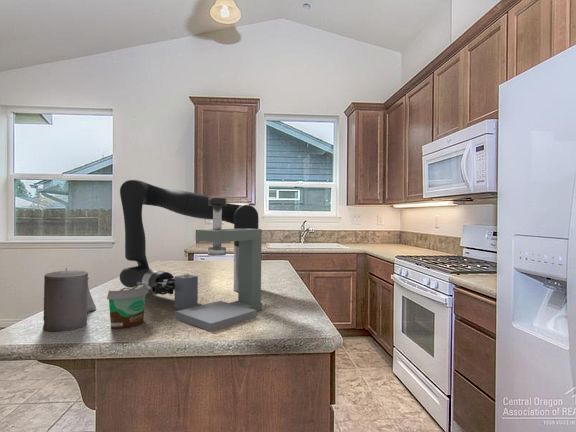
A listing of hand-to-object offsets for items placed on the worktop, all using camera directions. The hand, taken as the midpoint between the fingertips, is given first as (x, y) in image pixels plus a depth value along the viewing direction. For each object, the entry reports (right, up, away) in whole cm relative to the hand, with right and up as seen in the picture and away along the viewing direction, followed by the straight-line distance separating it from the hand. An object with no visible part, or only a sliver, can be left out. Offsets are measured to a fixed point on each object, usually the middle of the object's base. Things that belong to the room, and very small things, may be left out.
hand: (184, 288), depth 106 cm
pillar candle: (-26, -6, -18) cm, 32 cm away
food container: (-9, -6, -16) cm, 19 cm away
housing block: (0, -6, 0) cm, 6 cm away
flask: (-30, -6, -4) cm, 31 cm away
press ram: (+12, +12, -10) cm, 20 cm away
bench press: (+14, -6, -7) cm, 17 cm away
